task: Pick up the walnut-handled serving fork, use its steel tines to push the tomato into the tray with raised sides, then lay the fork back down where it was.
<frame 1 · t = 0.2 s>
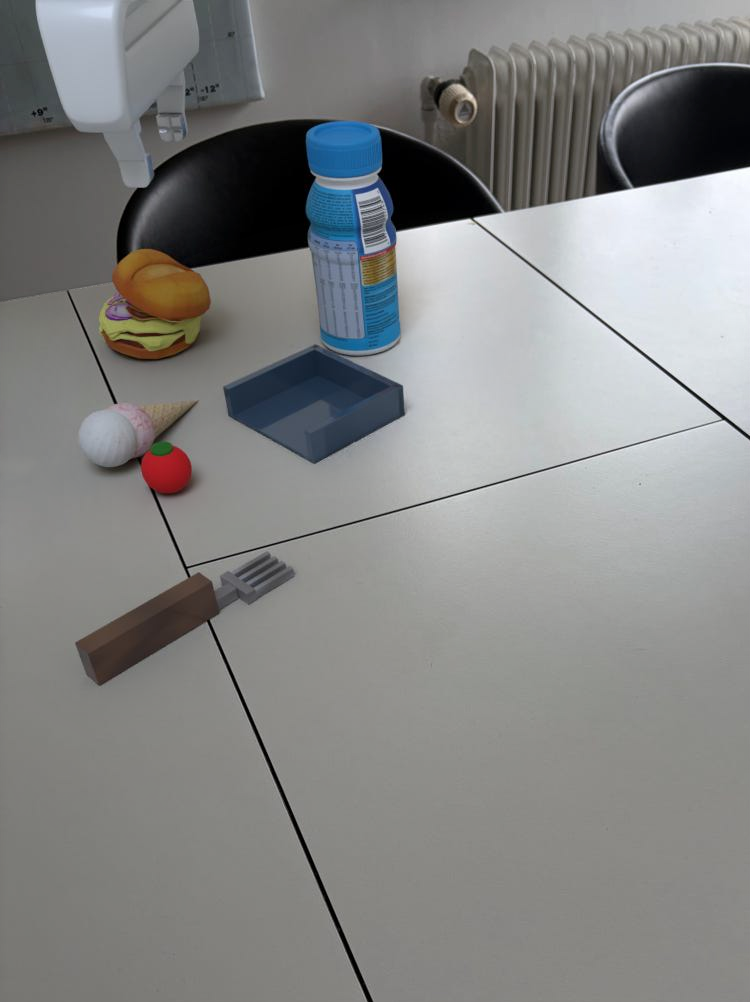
hand: (158, 160, 74), 24 cm above the table, tool pointing down, fingers open, 8 cm apart
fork: (201, 615, 75), on the table
tray: (316, 415, 96), on the table
beverage bottle: (361, 341, 107), on the table
tomato: (166, 468, 86), point 2 cm above the table
ice cream cone: (144, 441, 93), on the table
cheeseburger: (161, 343, 107), on the table
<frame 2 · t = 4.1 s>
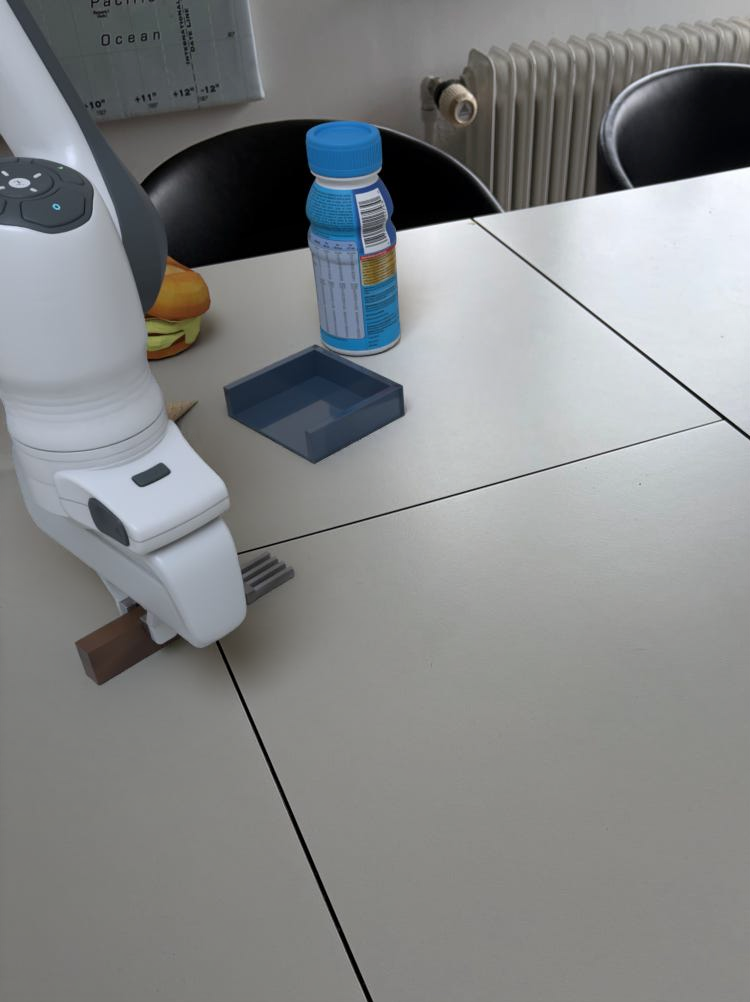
hand: (150, 626, 72), 2 cm above the table, tool pointing down, fingers closed on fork
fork: (201, 615, 75), on the table, touching gripper
everything else where it was.
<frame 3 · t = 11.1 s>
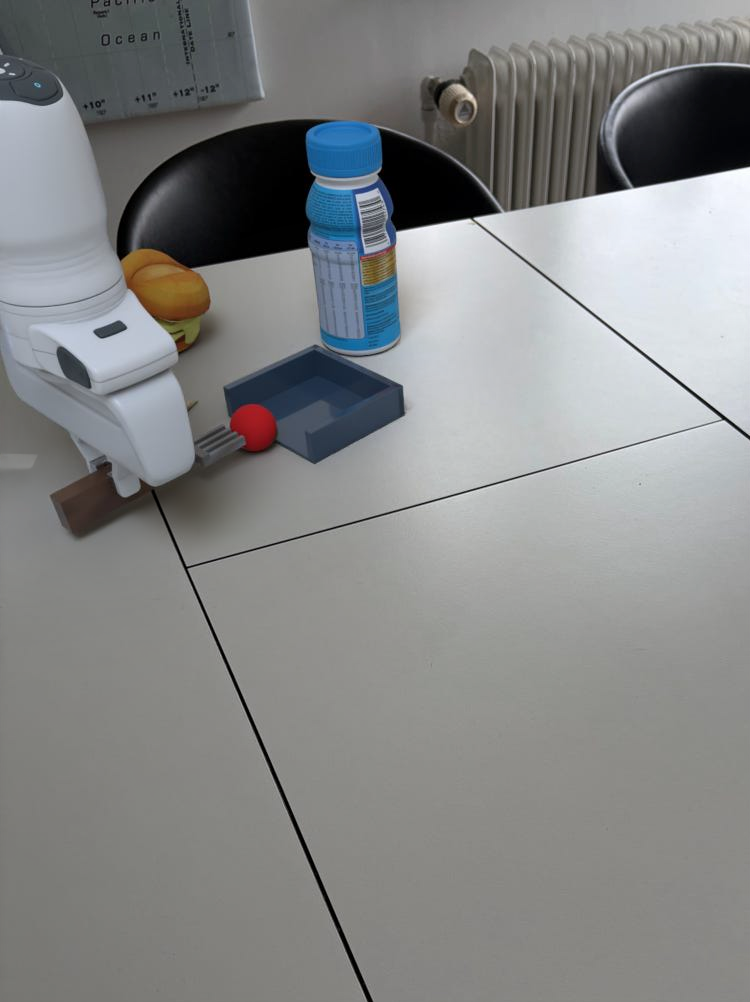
hand: (116, 484, 82), 3 cm above the table, tool pointing down, fingers closed on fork
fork: (163, 477, 85), point 2 cm above the table, touching gripper, tomato
tomato: (253, 427, 90), point 2 cm above the table, tilted 129°, touching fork
everything else where it was.
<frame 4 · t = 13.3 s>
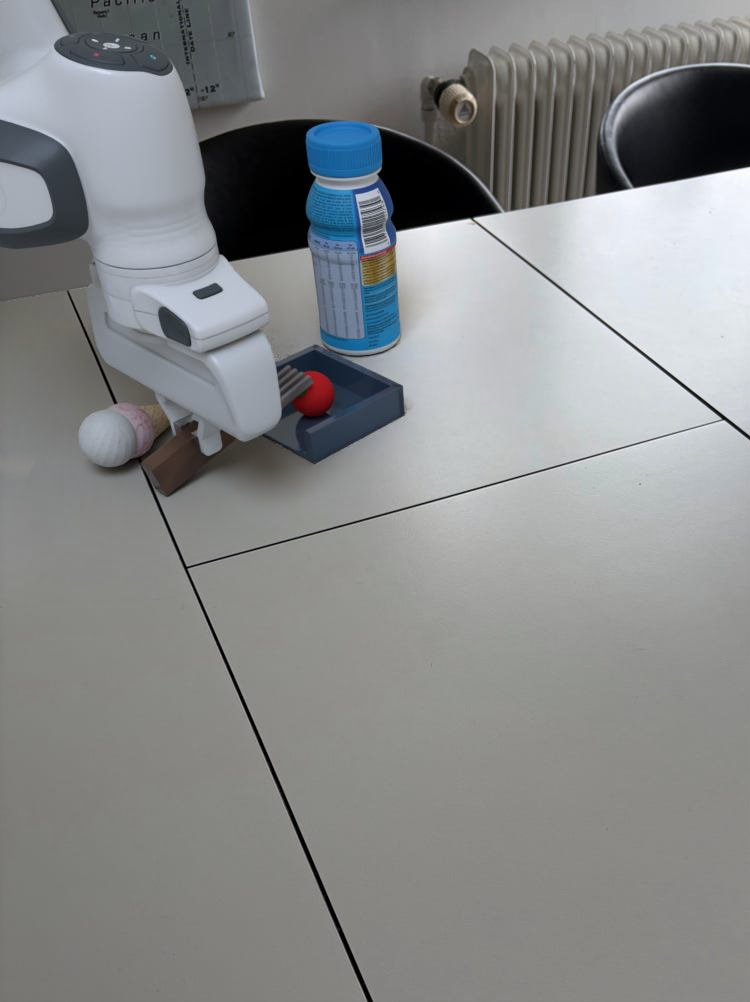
hand: (198, 443, 87), 3 cm above the table, tool pointing down, fingers closed on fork
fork: (240, 427, 89), point 2 cm above the table, tilted 15°, touching gripper, tomato
tomato: (312, 393, 94), point 2 cm above the table, tilted 48°, touching tray, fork
everything else where it was.
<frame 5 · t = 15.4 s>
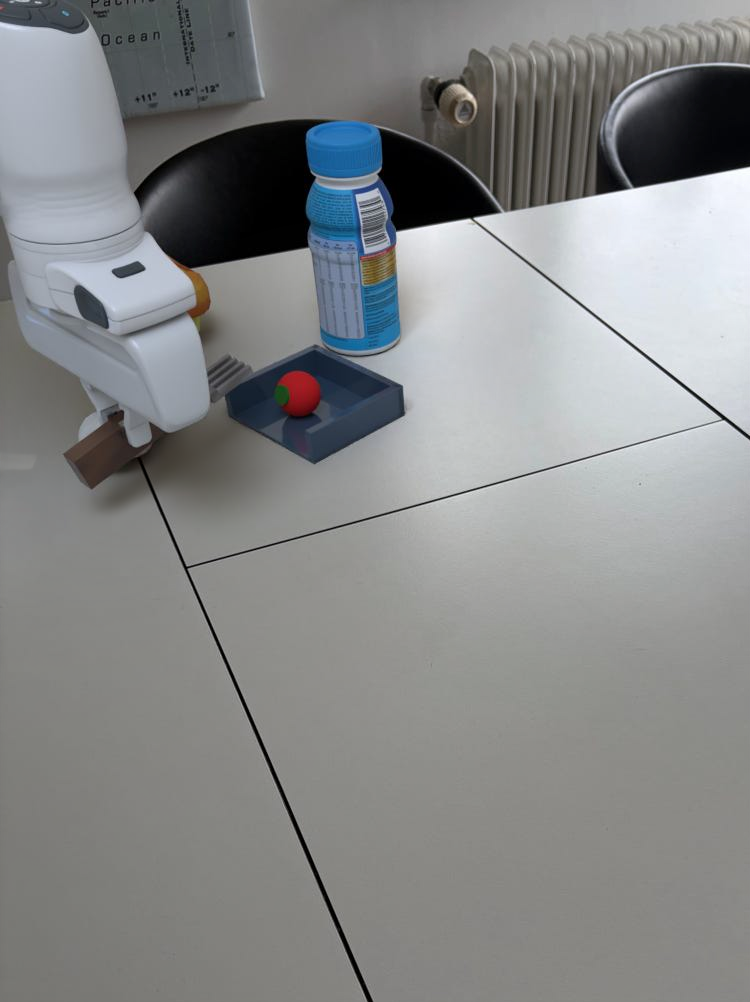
hand: (127, 434, 82), 6 cm above the table, tool pointing down, fingers closed on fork
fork: (174, 418, 84), point 6 cm above the table, tilted 14°, touching gripper
tomato: (298, 393, 94), point 2 cm above the table, tilted 71°, touching tray
everything else where it was.
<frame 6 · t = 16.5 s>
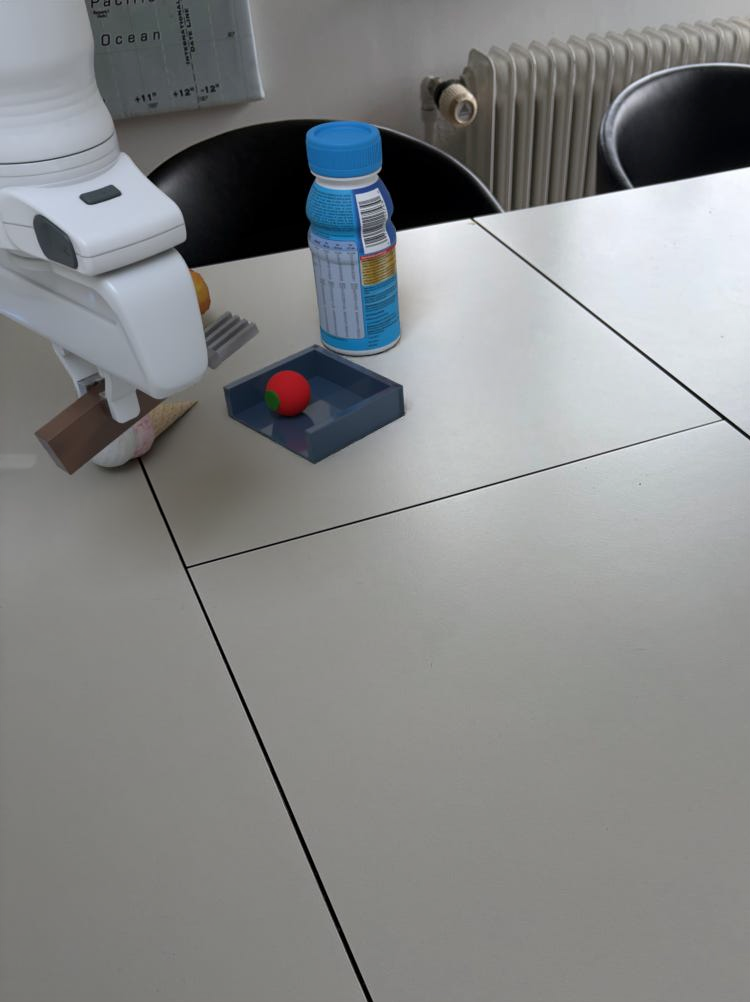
hand: (110, 409, 68), 15 cm above the table, tool pointing down, fingers closed on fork
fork: (167, 388, 71), point 14 cm above the table, tilted 15°, touching gripper
tomato: (288, 393, 94), point 2 cm above the table, tilted 86°, touching tray
everything else where it was.
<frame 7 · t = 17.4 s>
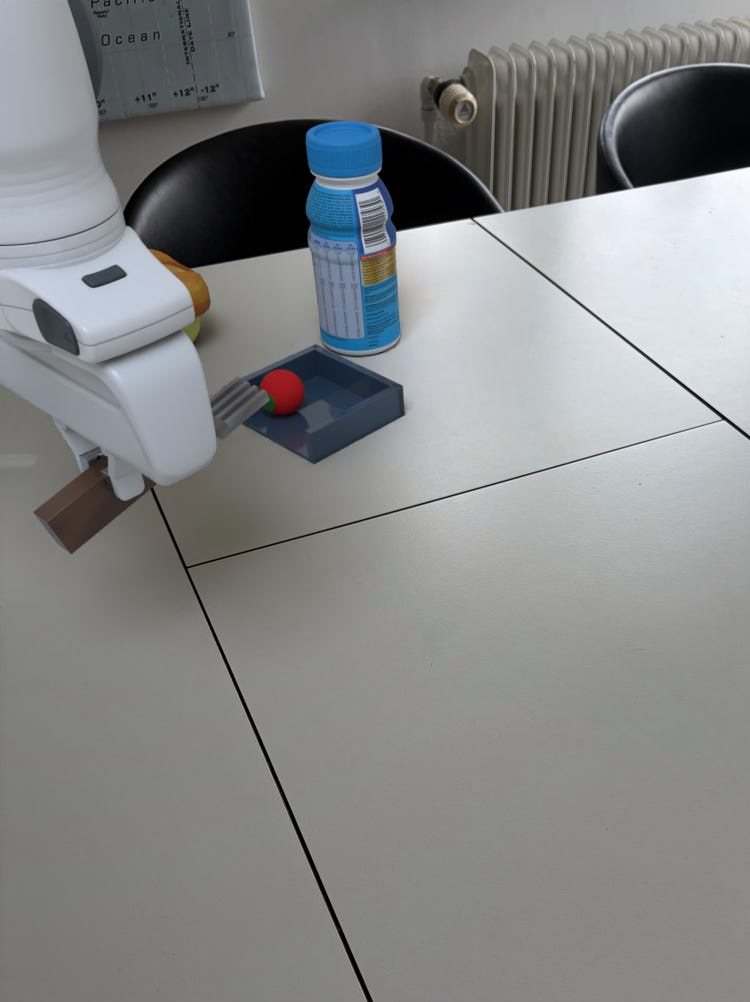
hand: (114, 484, 65), 13 cm above the table, tool pointing down, fingers closed on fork
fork: (173, 460, 68), point 12 cm above the table, tilted 15°, touching gripper
tomato: (282, 392, 94), point 2 cm above the table, tilted 93°, touching tray
everything else where it was.
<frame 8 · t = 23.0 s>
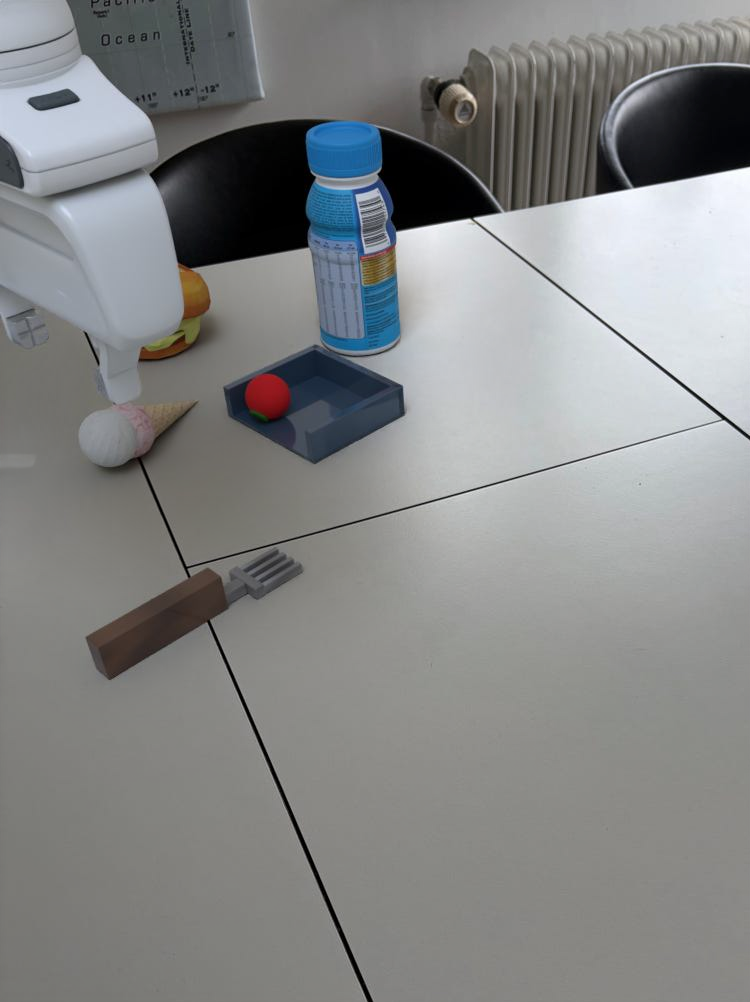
hand: (74, 368, 59), 21 cm above the table, tool pointing down, fingers open, 8 cm apart
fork: (210, 610, 75), on the table
tomato: (267, 396, 93), point 2 cm above the table, tilted 130°, touching tray
everything else where it was.
at the end: tomato inside the target area on the tray (3.9 cm from its centre), point 2.3 cm above the tray's base; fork inside the target area (0.3 cm from its centre), on the table; the gripper is holding nothing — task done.
